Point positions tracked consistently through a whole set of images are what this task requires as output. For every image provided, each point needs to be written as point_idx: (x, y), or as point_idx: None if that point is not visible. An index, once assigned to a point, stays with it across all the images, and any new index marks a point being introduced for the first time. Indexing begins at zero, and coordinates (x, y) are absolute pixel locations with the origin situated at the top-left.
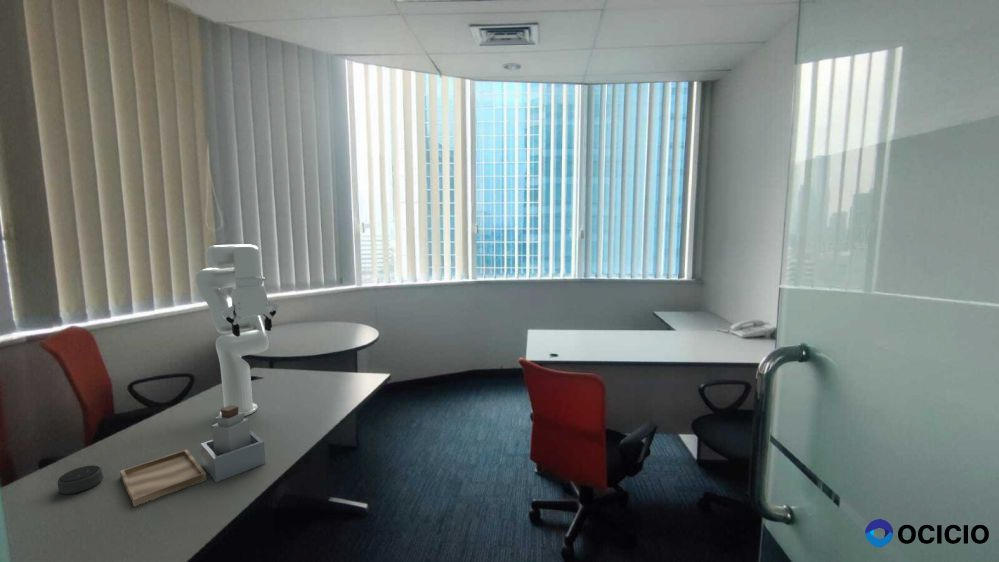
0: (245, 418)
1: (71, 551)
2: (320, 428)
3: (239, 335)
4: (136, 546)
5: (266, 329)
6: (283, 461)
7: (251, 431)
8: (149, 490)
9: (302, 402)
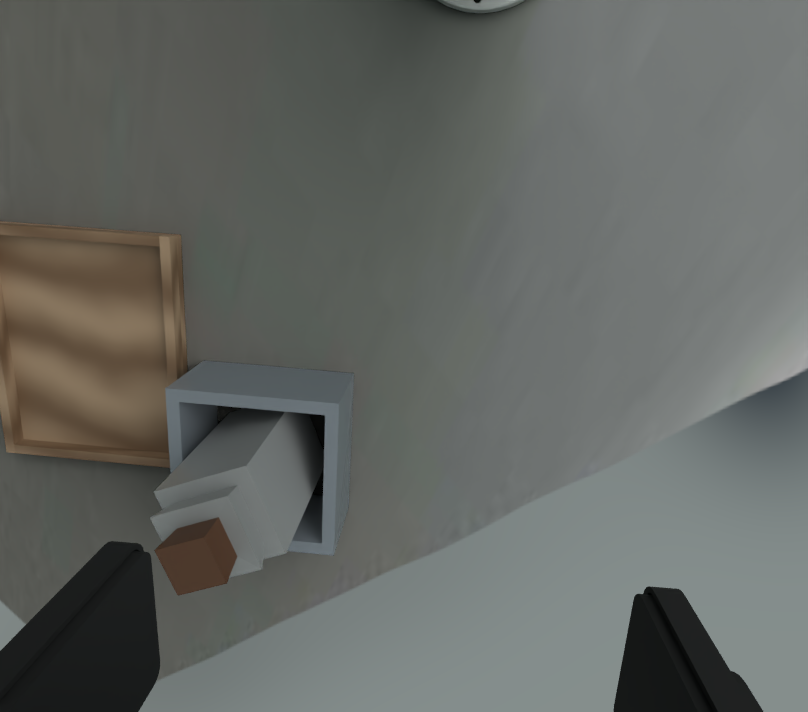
0: (277, 536)
1: None
2: (609, 435)
3: (150, 677)
4: (24, 601)
5: (630, 652)
6: (391, 540)
7: (336, 443)
8: (52, 407)
9: (764, 81)
